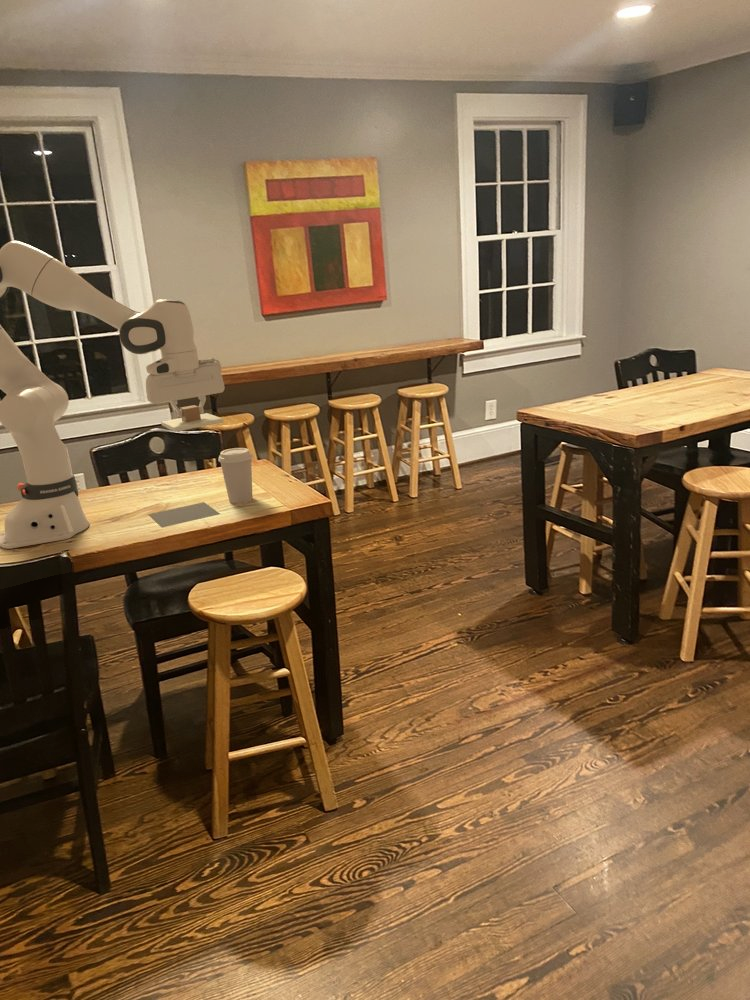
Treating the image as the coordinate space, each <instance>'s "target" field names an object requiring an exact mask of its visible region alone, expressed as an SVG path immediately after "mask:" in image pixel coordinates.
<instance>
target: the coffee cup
mask: <svg viewBox="0 0 750 1000" xmlns="http://www.w3.org/2000/svg"><path fill="white" fill-rule="evenodd" d="M252 458H253V454H252V453H251V452H250V450H249V448H245V447H234V448H228V449H224V450H222V451H220V454H219V455H218V462H219V463H220V466H221V471H222V475H223V479H224V484H225V488H226V491H227V492H226V493H227V497H228V502H229V503H230V504H233V505H239V504H247V503H249V502H251V501H253V496H254V495H253V476H252V475H253V473H252V472H253V471H252Z"/></svg>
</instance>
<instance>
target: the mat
mask: <svg viewBox="0 0 750 1000" xmlns="http://www.w3.org/2000/svg"><path fill="white" fill-rule="evenodd" d="M217 515H221V513H220V512H219V511H217V510H216V509H214V507H212V506H210V505H209V504H208V503H206V502H205V501H203V502H198V503H193V504H190V505H189V504H188V505H184V506H180V507H174V508H172V509H167V510H163V511H162V510H161V511H158V512H153V513H148V516H149V517H150V518H151V519H152V521H154V522H155V523H157V525H159V527H160V528H167V527H169V526H174V525H180V524H183V523H186V522H191V521H197V520H199V519H204V518H208V517H213V516H217Z"/></svg>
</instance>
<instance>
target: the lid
mask: <svg viewBox="0 0 750 1000" xmlns="http://www.w3.org/2000/svg"><path fill="white" fill-rule="evenodd" d="M198 406H199V405H195V404H194V405H188V406H183V407H179V410H180V409H181V410H183V414H184V416H183V417H177V418H173V419H168V420H163V421H160V423H161V426H163V427H165V428H167V429H169V430H171V431H173V432H181V431H185V430H191V429H197V428H201V427H206V426H211V425H217V424H222V423H224V418H222V417H219V416H216V415H213V414H211V413H207V412H206V413H205V412H204V413H200V411H199V407H198Z"/></svg>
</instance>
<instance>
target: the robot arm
mask: <svg viewBox="0 0 750 1000" xmlns="http://www.w3.org/2000/svg"><path fill="white" fill-rule="evenodd" d="M10 287H11V288H16V289H17V290H20V291H22V292H24V293H25V294H27V295H28V296H31V297H32V298H34V299H35V300H38V301H39V302H41V303H43V304H46V305H48V306H50V307H53V308H54V309H55V308H56V309H57V310H58V309H59V310H61V311H72V312H79V313H84V314H87V315H90V316H93V317H94V318H97V319H98V320H101V321H103V322H104V323H106V324H108V325H110V326H112V327H113V328H115V329H116V330H118V331H119V340H120V342H121V344H122V346H123V347H124V349H126V350H127V351H128V352H130V353H133V354H135V355H147V354H149V353H152V352H156V351H158V350H160V351H161V355H162V358H159V359H158V360H155V361H154V362H152V363H149V364H147V365H146V367H145V368H146V373H148V375H147V376H146V379H145V392H146V398H147V401H148V402H149V403H151V404H152V405H157V404H163V403H168V402H169V403H170V406H171V407H172V408H173V409H174V411H175V413H176V417H177V418H181V417H183V416H184V414H183V410H181V409H180V407H178V406H177V405H178V401H181V400H186V399H192V398H198V400H200V401H199V405H197V406H198V407H199V411H200V414H205V409H204V406H205V404H206V401H207V397H206V396H209V395H215V394H221V393H223V392H224V391H225V389H226V388H225V382H224V379H223V375H222V364H221V362H220V361H219V359H215V358H214V357H213V358H211V357H210V358H207V359H199V355H198V350H197V346H196V344H195V342H194V335H195V333H194V326H193V322H192V321H193V320H192V317H191V314H190V313H191V312H190V310H189V308H188V306H187V304H185V303H184V302H183V301H180V300H176V299H164V298H163V299H161V298H160V299H157V300H155V301H154V303H152V305H150V306H149V307H148V308H147V309H145V310H143V311H142V312H139V311H135V310H133V309H131V308H129V307H128V306H125V305H124V304H122V303H120V302H118V301H117V300H115V299H114V298H111V297H110V296H108V295H106V294H105V293H103V292H101V291H100V290H98V288H95V287H94V286H93V285H92V284H91V283H90V282H88V281H87V280H86V279H84V278H83V277H82V275H80V274H78V273H77V272H76V271H75V270H73V269H71V268H70V267H69V266H67V265H66V264H65V263H63V262H62V261H60V260H58V259H57V258H55V257H54V256H52V255H50V254H49V253H46V252H45V251H43V250H40V249H38V248H37V247H34V246H32V245H30V244H27V243H24V242H22V241H19V240H11V241H9V242H7V243H5V244H4V245H2V247H1V248H0V302H1V301H2V300H3V299H4V298H5V297H6V296H7V294H8V292H9V290H10ZM0 390H1V391H2V392H3V393H5V394H6V395H5V396H4V397H3V398H2V399H1V400H0V424H1V425H2V427H4V429H6V430H7V431H9V433H10V435H11V436H12V439H13V440H14V442H15V444H16V447H17V448H18V450H19V453H20V456H21V459H22V463H23V467H24V468H23V469H24V471H25V472H24V473H25V476H26V481H27V482H26V483H23V482H19V483H18V484H17V486H16V488H17V490H18V491H19V492H20V494H21V497H22V498H21V500H19V501H18V502H17V503H16V505H14V506H13V507H12V508H11V510H10V511H8V513H7V514H6V516H5V518H4V524H3V525H4V527H3V528H4V531H3V532H1V533H0V547H1V548H3V549H7V550H8V549H9V550H10V549H14V548H15V549H17V548H22V547H27V546H33V545H39V544H46V543H51V542H58V541H64V540H68V539H71V538H72V537H73V536H75V535H77V534H79V533H81V532H83V531H85V530H86V529H88V527H90V522H89V521H88V519H87V517H86V515H85V513H84V510H83V507H82V505H81V501H80V498H79V487H78V483H77V482H78V481H77V479H76V477H75V475H74V474H73V469H72V464H71V459H70V454H69V451H68V447H67V445H66V444H65V443H64V442H63V441H62V439H61V437H60V435H59V434H58V431H57V429H56V426H55V422H56V421H58V420H59V419H61V418H62V417H63V415H64V414H65V412H66V411H67V409H68V406H69V403H70V402H69V395H68V393H67V391H66V390H65V389H64V388H63V386H61V385H60V384H58V383H56V382H55V381H53V380H52V379H50V378H49V377H48V376H47V375H46V374H45V373H44V372H42V370H41V369H40V368H38V367H37V366H36V365H35V364H34V363H33V362H31V361H30V359H29V358H28V357H27V356H26V355H25V354H24V352H22V351H21V349H20V348H19V347H18V346H17V344H16V343H15V342H14V341H13V339H12V338H11V336H10V335H9V334H8V332H7V331H6V330H5V329H4V328H3V326H2V325H1V324H0Z"/></svg>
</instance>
